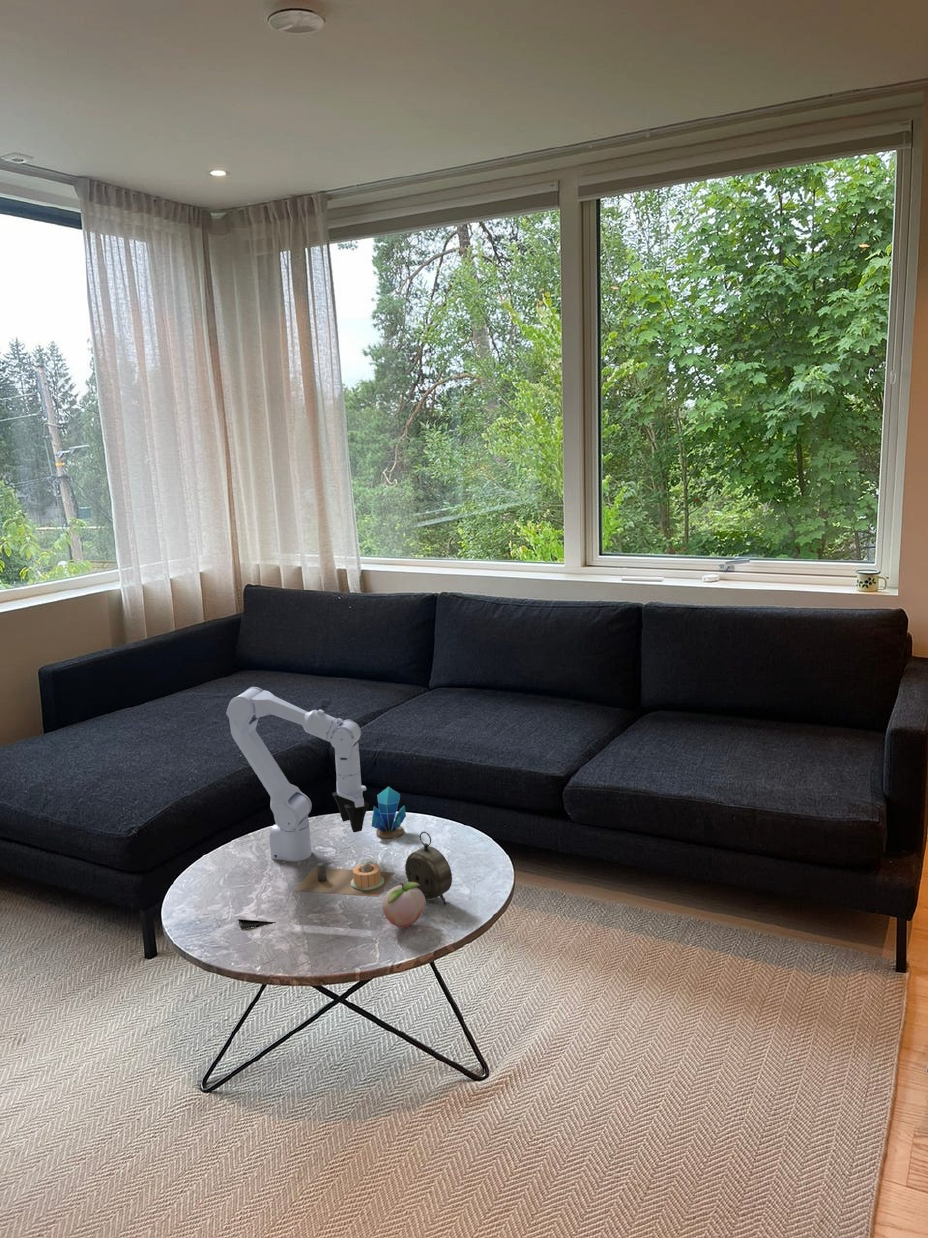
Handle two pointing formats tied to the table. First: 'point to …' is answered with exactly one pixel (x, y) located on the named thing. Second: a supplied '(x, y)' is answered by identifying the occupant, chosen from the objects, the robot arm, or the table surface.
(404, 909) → the decorative fruit
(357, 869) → the ring
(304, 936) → the table surface
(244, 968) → the table surface
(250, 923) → the black wedge
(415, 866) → the alarm clock
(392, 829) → the gemstone
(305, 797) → the robot arm
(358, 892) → the stand board
